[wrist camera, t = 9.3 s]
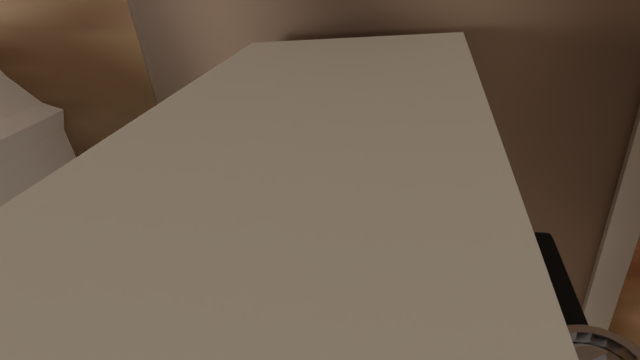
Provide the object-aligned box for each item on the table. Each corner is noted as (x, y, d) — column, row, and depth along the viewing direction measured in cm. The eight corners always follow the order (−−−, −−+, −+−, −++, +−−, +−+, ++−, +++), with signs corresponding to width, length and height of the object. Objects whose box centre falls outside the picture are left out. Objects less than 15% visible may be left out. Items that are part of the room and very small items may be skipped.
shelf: (275, 441, 25) (264, 482, 24) (161, -24, 13) (117, -16, 11) (529, 486, 22) (538, 537, 20) (685, -73, 10) (742, -73, 8)
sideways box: (291, 284, 15) (105, 773, 6) (252, 42, 11) (-405, 471, 2) (455, 298, 13) (503, 931, 5) (477, 31, 9) (890, 861, 1)
